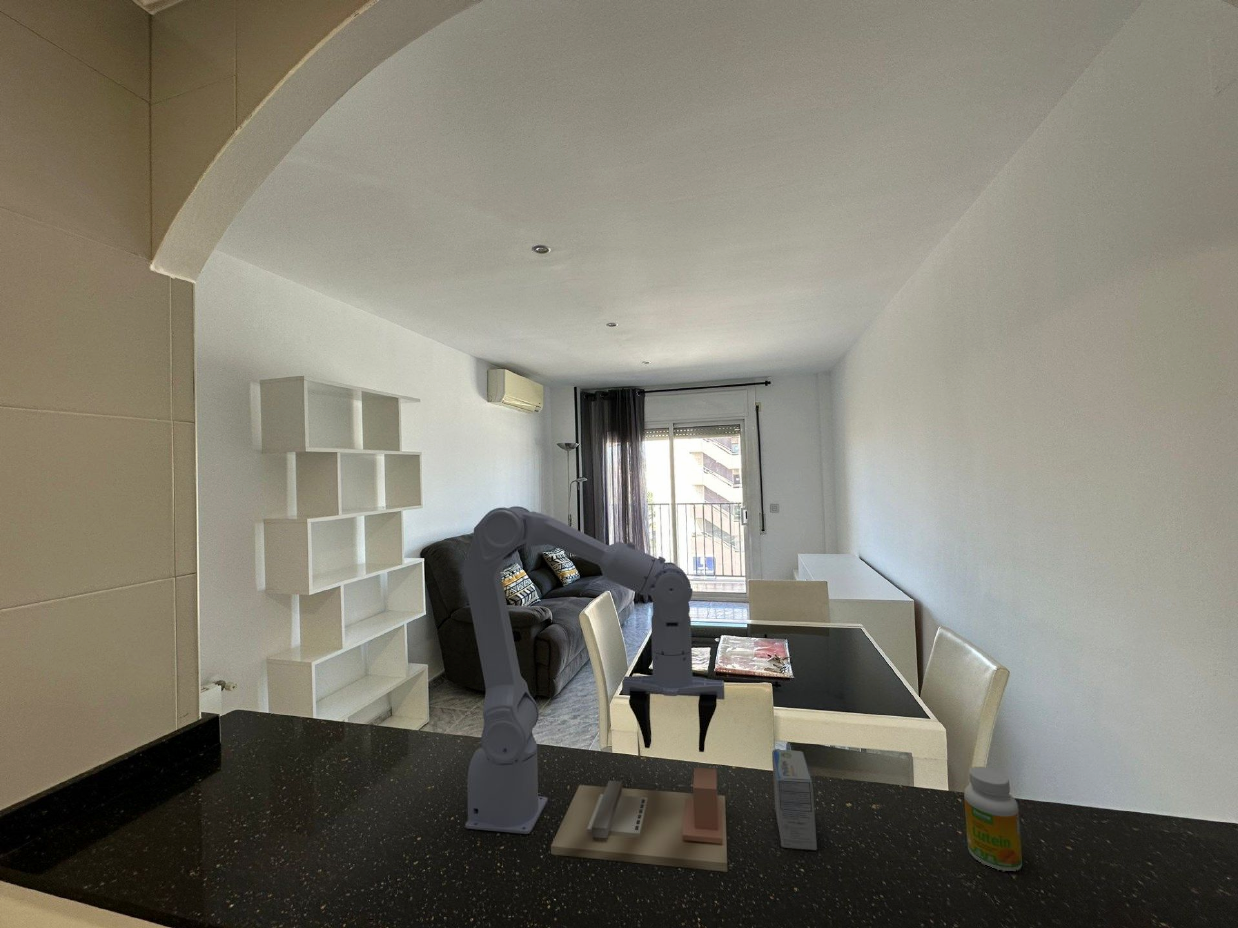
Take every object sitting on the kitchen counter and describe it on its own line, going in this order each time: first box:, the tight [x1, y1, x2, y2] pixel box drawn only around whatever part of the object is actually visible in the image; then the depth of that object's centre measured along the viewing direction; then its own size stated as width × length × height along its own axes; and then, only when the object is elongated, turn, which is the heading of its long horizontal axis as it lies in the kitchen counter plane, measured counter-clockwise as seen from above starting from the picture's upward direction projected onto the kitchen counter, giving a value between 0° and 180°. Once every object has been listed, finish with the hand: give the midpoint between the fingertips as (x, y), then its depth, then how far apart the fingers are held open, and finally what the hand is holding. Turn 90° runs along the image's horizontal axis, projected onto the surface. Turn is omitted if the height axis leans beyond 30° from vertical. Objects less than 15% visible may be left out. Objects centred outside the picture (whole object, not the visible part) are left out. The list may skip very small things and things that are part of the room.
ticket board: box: [550, 780, 728, 873], centre depth 70 cm, size 22×14×3 cm, turn 79°
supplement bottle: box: [963, 766, 1023, 872], centre depth 63 cm, size 5×5×10 cm
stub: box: [682, 767, 723, 843], centre depth 69 cm, size 5×8×6 cm, turn 170°
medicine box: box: [771, 749, 818, 851], centre depth 69 cm, size 8×4×9 cm, turn 169°
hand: (674, 746), depth 73 cm, fingers open, 7 cm apart
